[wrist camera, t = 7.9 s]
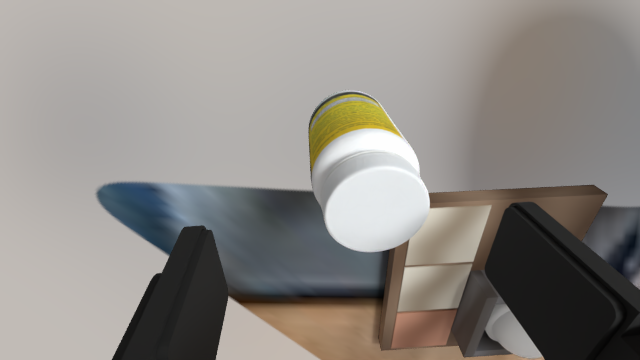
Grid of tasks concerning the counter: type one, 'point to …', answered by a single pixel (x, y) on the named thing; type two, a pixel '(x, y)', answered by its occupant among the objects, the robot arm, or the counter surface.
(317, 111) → the supplement bottle
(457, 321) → the game board
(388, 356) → the counter surface
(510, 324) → the dome
